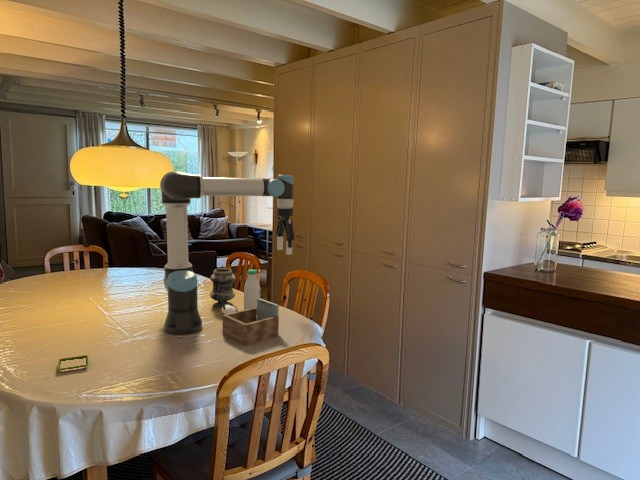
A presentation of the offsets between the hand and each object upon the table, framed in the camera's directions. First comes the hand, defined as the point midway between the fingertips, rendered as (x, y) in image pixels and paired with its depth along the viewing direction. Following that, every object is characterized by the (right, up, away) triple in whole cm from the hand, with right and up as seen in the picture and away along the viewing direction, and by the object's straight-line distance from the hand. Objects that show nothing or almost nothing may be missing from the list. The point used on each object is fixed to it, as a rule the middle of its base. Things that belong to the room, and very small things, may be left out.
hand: (284, 252), depth 211 cm
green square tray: (-64, -37, -66) cm, 99 cm away
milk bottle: (-15, -28, -2) cm, 32 cm away
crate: (-11, -33, -33) cm, 48 cm away
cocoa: (-24, -30, -15) cm, 41 cm away
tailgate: (-5, -30, -28) cm, 41 cm away
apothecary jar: (-31, -27, +6) cm, 41 cm away
